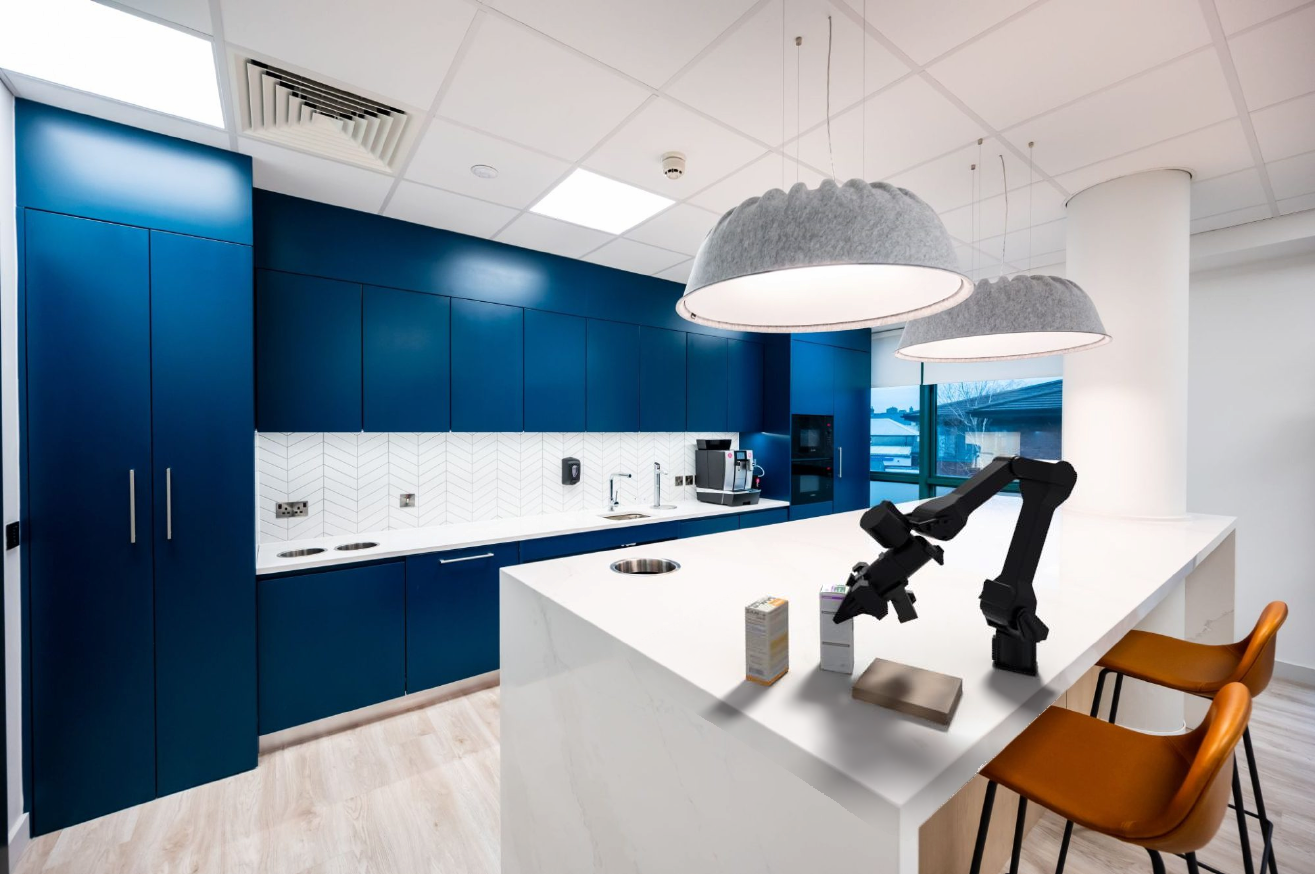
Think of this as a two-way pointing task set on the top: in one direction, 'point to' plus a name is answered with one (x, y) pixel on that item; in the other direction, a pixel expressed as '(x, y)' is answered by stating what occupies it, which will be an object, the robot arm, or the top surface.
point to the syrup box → (835, 631)
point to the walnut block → (909, 690)
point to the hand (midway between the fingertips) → (834, 616)
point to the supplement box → (767, 639)
